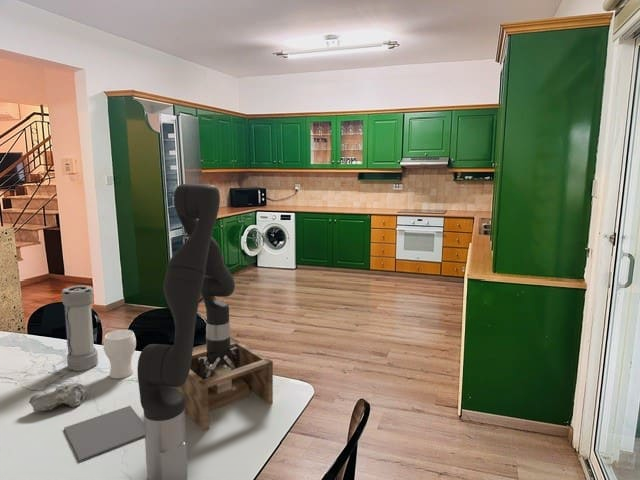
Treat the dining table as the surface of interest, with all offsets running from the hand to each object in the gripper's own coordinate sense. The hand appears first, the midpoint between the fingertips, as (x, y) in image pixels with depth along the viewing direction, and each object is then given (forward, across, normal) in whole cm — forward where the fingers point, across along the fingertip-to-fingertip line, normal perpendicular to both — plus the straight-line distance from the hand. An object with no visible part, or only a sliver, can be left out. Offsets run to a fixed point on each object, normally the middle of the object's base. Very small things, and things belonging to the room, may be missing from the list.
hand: (219, 382), depth 138 cm
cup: (+6, -19, +38) cm, 43 cm away
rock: (+6, -40, +27) cm, 49 cm away
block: (+2, 0, 0) cm, 2 cm away
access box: (+6, 0, 0) cm, 6 cm away
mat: (+6, -33, +4) cm, 34 cm away
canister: (+6, -28, +54) cm, 61 cm away
